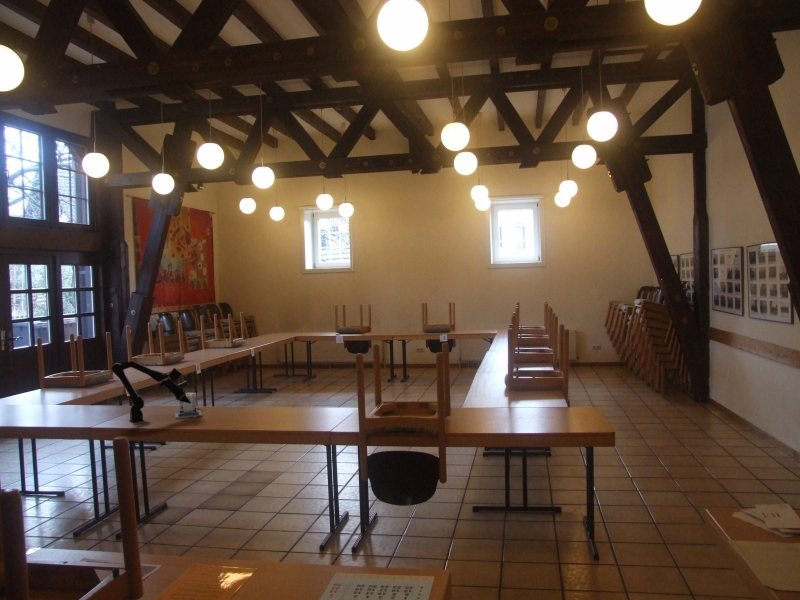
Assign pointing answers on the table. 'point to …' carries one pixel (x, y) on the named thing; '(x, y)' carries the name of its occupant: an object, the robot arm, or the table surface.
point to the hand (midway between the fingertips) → (190, 401)
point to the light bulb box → (192, 400)
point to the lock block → (188, 405)
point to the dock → (188, 414)
